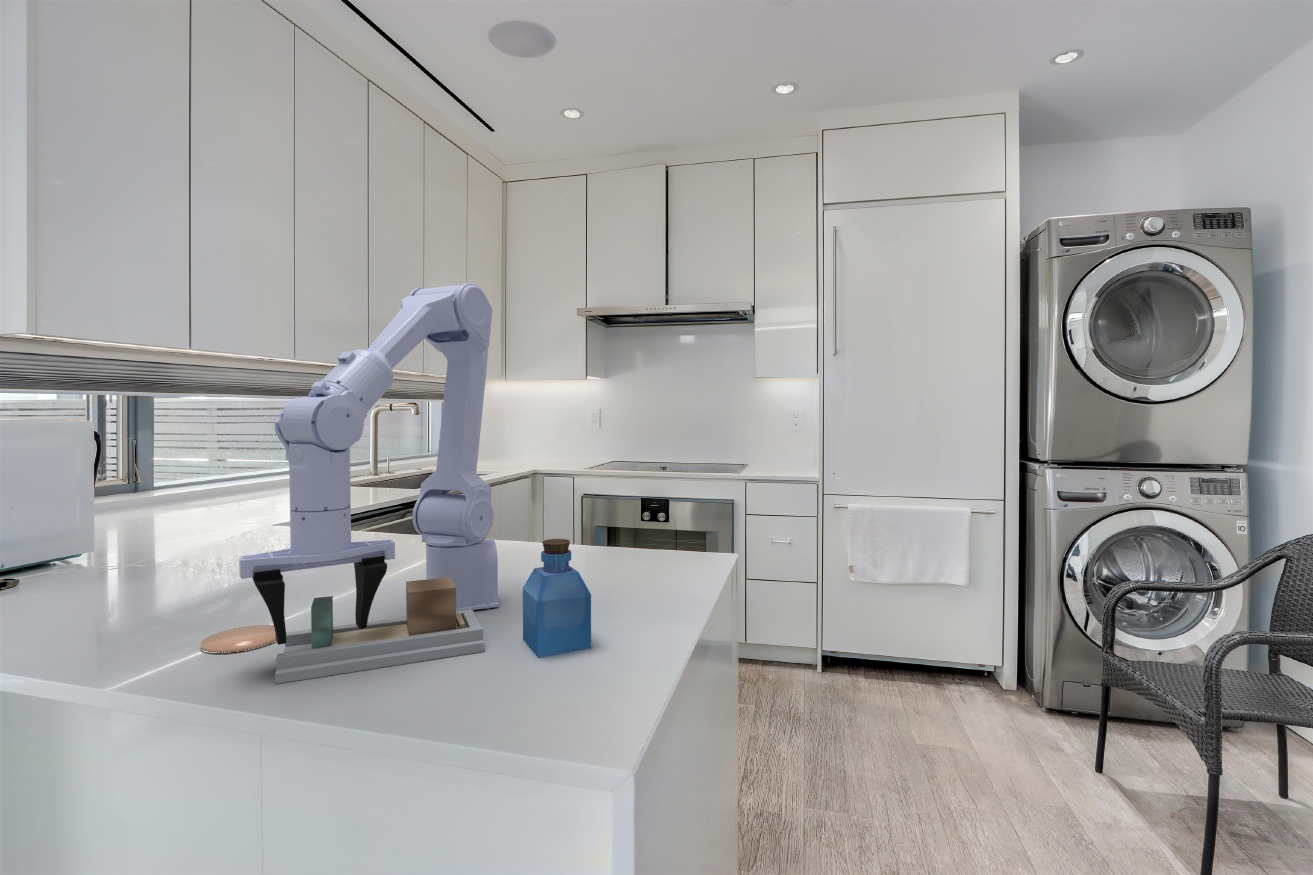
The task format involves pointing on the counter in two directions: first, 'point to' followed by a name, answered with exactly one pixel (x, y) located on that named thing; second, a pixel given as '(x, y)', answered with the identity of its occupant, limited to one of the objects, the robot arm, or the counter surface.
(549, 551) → the perfume bottle
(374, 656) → the lane board
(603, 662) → the counter surface
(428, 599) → the walnut block
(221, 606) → the counter surface
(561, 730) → the counter surface
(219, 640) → the coaster
